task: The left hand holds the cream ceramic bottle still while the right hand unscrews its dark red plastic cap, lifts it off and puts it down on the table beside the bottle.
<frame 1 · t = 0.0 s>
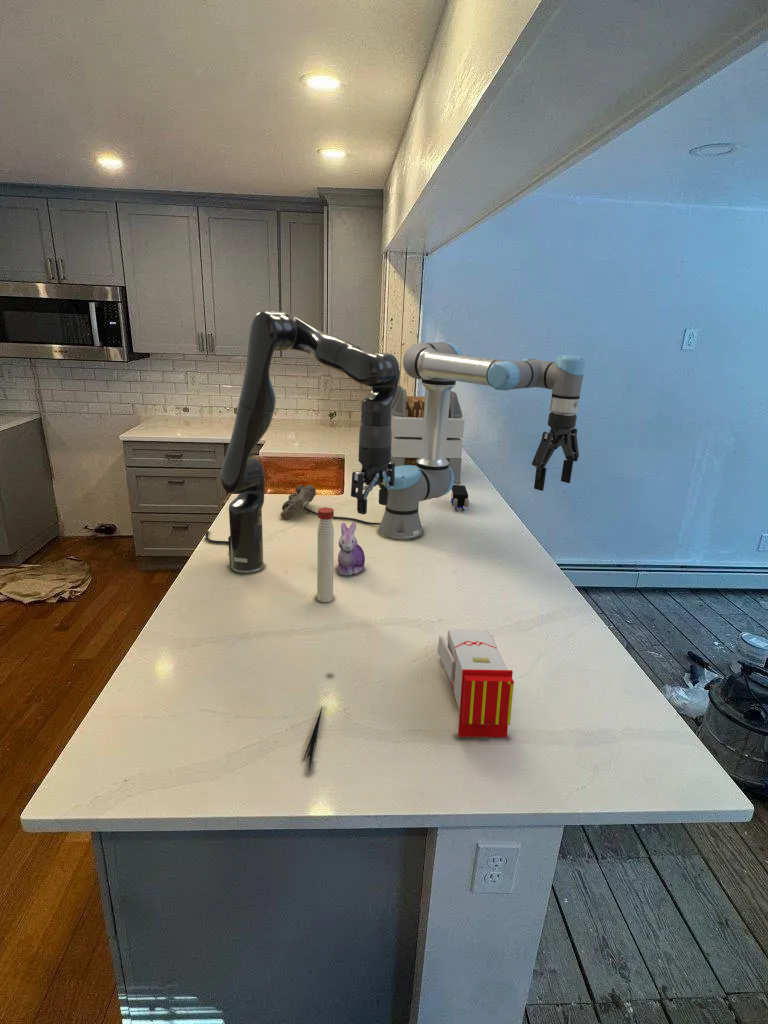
left hand: (372, 508, 136), 29 cm above the counter, tool pointing down, fingers open, 8 cm apart
right hand: (552, 485, 166), 28 cm above the counter, tool pointing down, fingers open, 13 cm apart
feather: (319, 719, 109), on the counter
bottle: (325, 598, 154), on the counter
fossil: (299, 511, 217), on the counter
toy: (469, 691, 119), on the counter
white slatted crate: (419, 473, 275), on the counter
figurine: (350, 570, 171), on the counter
cap: (325, 511, 145), point 25 cm above the counter, screwed on, not yet turned
figurine character: (458, 507, 230), on the counter
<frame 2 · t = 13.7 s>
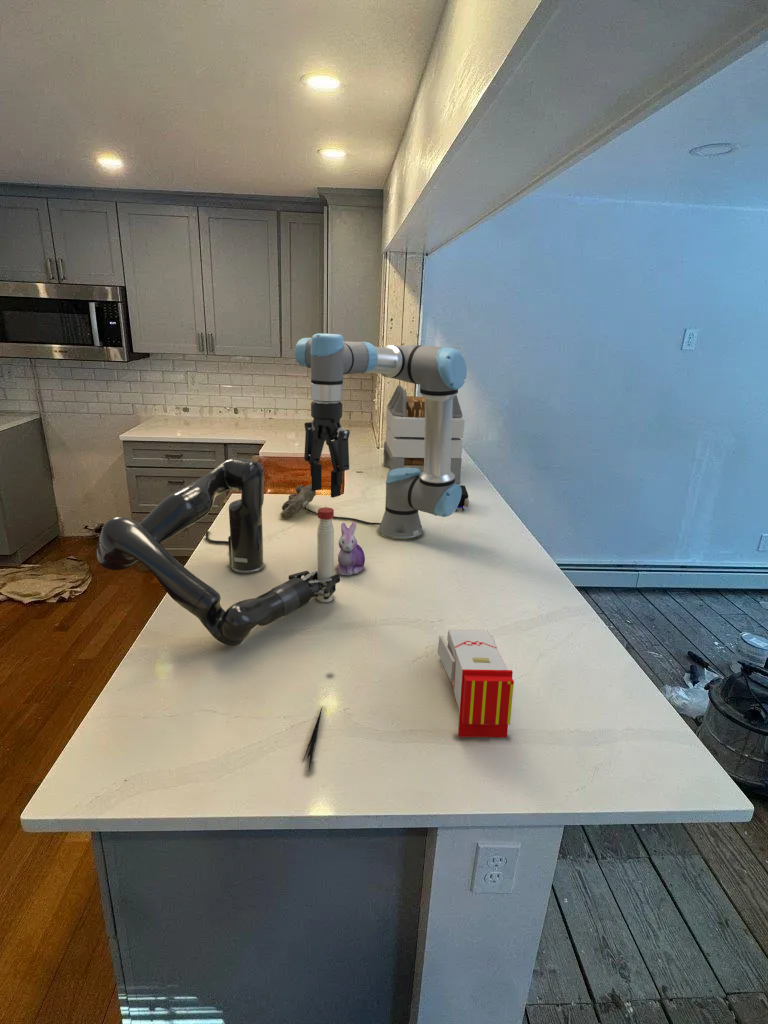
left hand: (331, 574, 154), 6 cm above the counter, tool horizontal, fingers closed on bottle, 4 cm apart
right hand: (326, 492, 143), 30 cm above the counter, tool pointing down, fingers open, 6 cm apart
bottle: (325, 598, 154), on the counter, touching left hand
everything else where it was.
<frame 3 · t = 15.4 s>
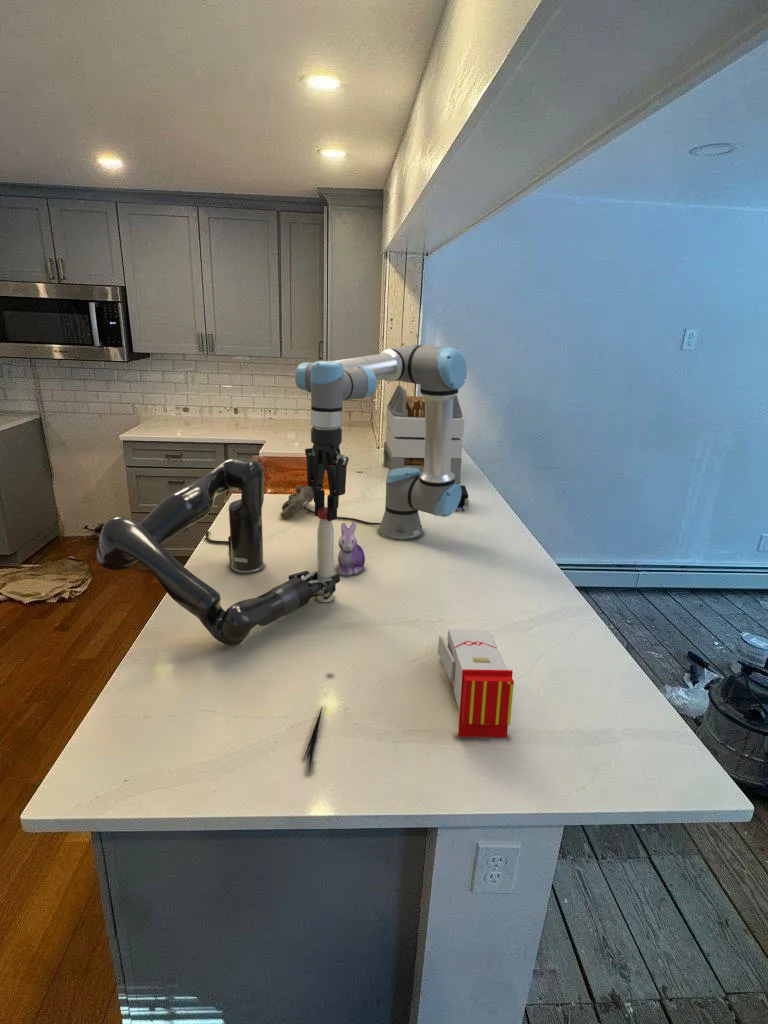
left hand: (331, 574, 154), 6 cm above the counter, tool horizontal, fingers closed on bottle, 4 cm apart
right hand: (325, 517, 146), 24 cm above the counter, tool pointing down, fingers closed on cap, 4 cm apart
bottle: (325, 598, 154), on the counter, touching left hand
cap: (325, 511, 145), point 25 cm above the counter, screwed on, not yet turned, touching right hand
everything else where it was.
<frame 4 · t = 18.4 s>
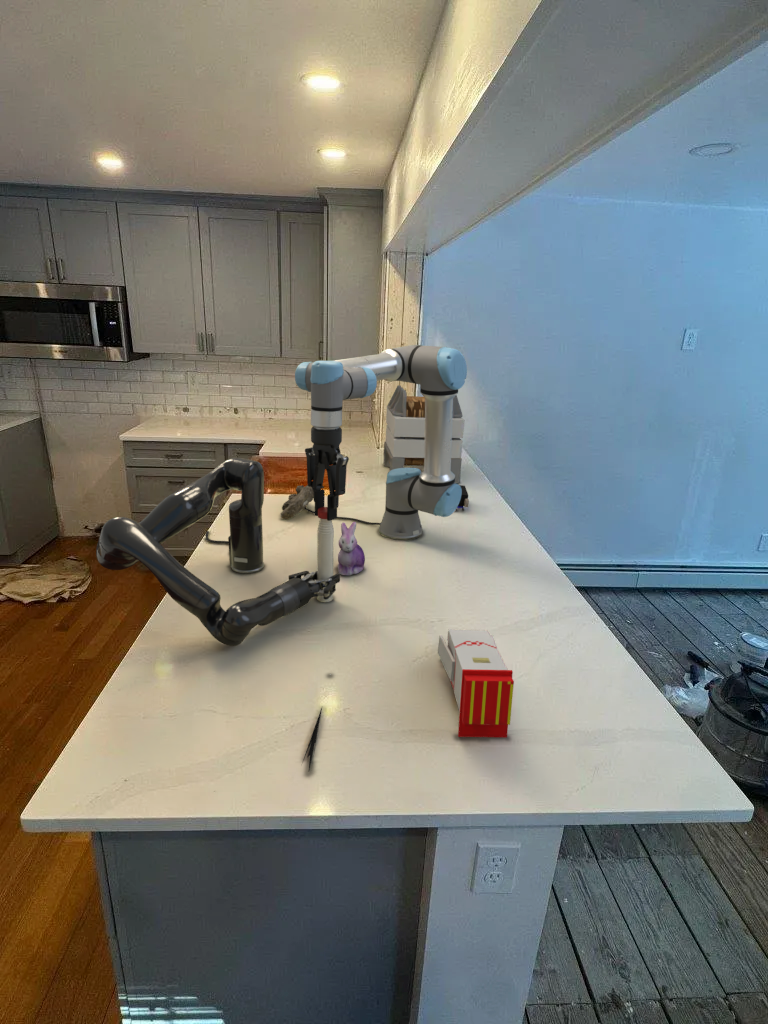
left hand: (331, 574, 154), 6 cm above the counter, tool horizontal, fingers closed on bottle, 4 cm apart
right hand: (325, 516, 146), 24 cm above the counter, tool pointing down, fingers closed on cap, 4 cm apart
bottle: (325, 598, 154), on the counter, touching left hand
cap: (325, 510, 145), point 25 cm above the counter, turned 85° so far, risen 0.1 cm, still on its thread, touching right hand
everything else where it was.
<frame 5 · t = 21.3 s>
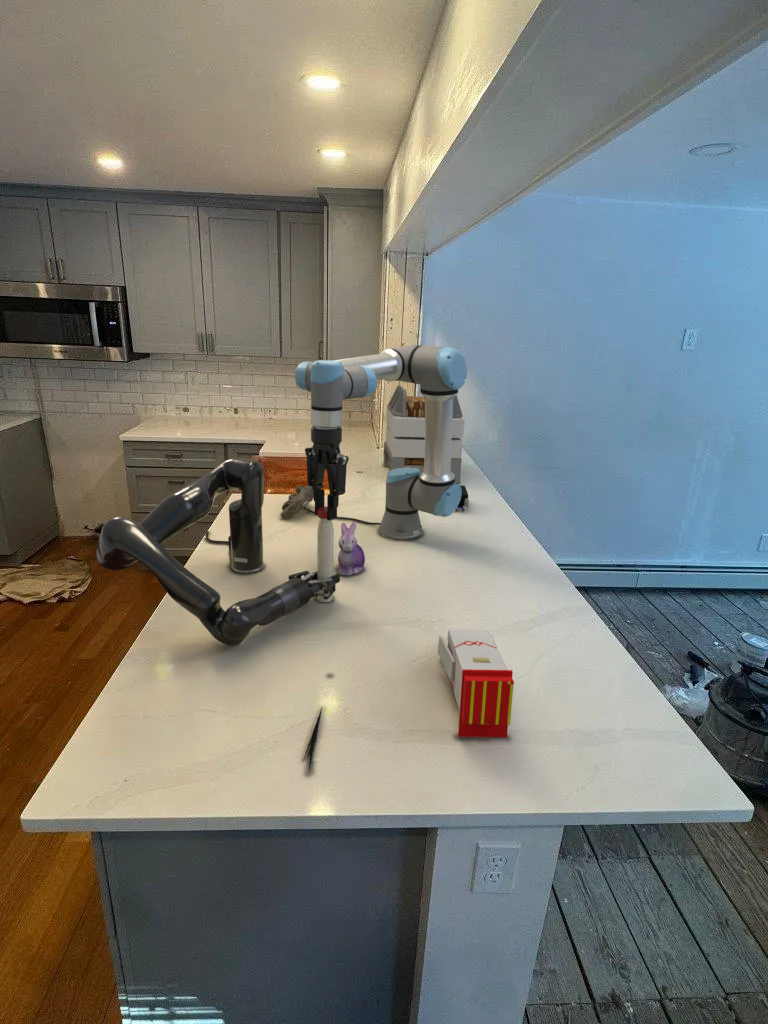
left hand: (331, 574, 154), 6 cm above the counter, tool horizontal, fingers closed on bottle, 4 cm apart
right hand: (325, 516, 146), 24 cm above the counter, tool pointing down, fingers closed on cap, 4 cm apart
bottle: (325, 598, 154), on the counter, touching left hand
cap: (325, 510, 145), point 25 cm above the counter, turned 171° so far, risen 0.2 cm, still on its thread, touching right hand
everything else where it was.
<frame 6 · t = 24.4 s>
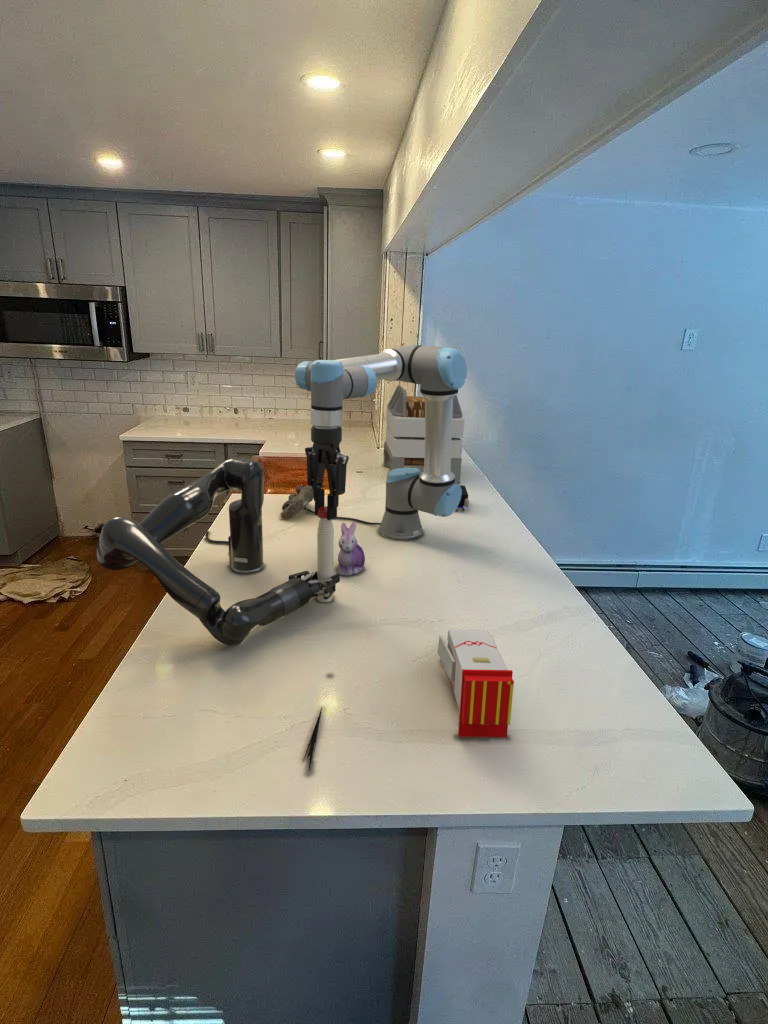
left hand: (331, 574, 154), 6 cm above the counter, tool horizontal, fingers closed on bottle, 4 cm apart
right hand: (325, 516, 146), 24 cm above the counter, tool pointing down, fingers closed on cap, 4 cm apart
bottle: (325, 598, 154), on the counter, touching left hand
cap: (325, 510, 145), point 25 cm above the counter, turned 256° so far, risen 0.3 cm, still on its thread, touching right hand
everything else where it was.
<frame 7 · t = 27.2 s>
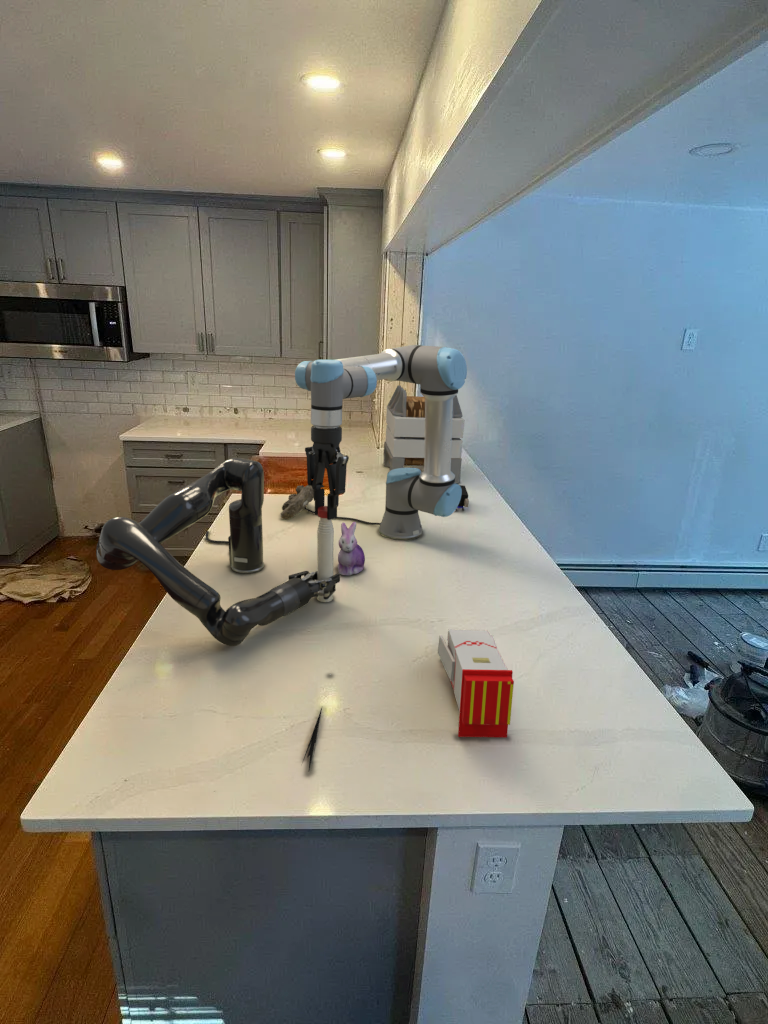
left hand: (331, 574, 154), 6 cm above the counter, tool horizontal, fingers closed on bottle, 4 cm apart
right hand: (325, 515, 146), 24 cm above the counter, tool pointing down, fingers closed on cap, 4 cm apart
bottle: (325, 598, 154), on the counter, touching left hand
cap: (325, 509, 145), point 26 cm above the counter, turned 341° so far, risen 0.3 cm, still on its thread, touching right hand
everything else where it was.
when the right hand's fingers open (1 cm above the counter, at t = 35.1 s): cap drops 1 cm, point 2 cm above the counter.
when the left hand's fingers open (6 cm above the counter, at t = 36.4 s): bottle stays where it is, on the counter.
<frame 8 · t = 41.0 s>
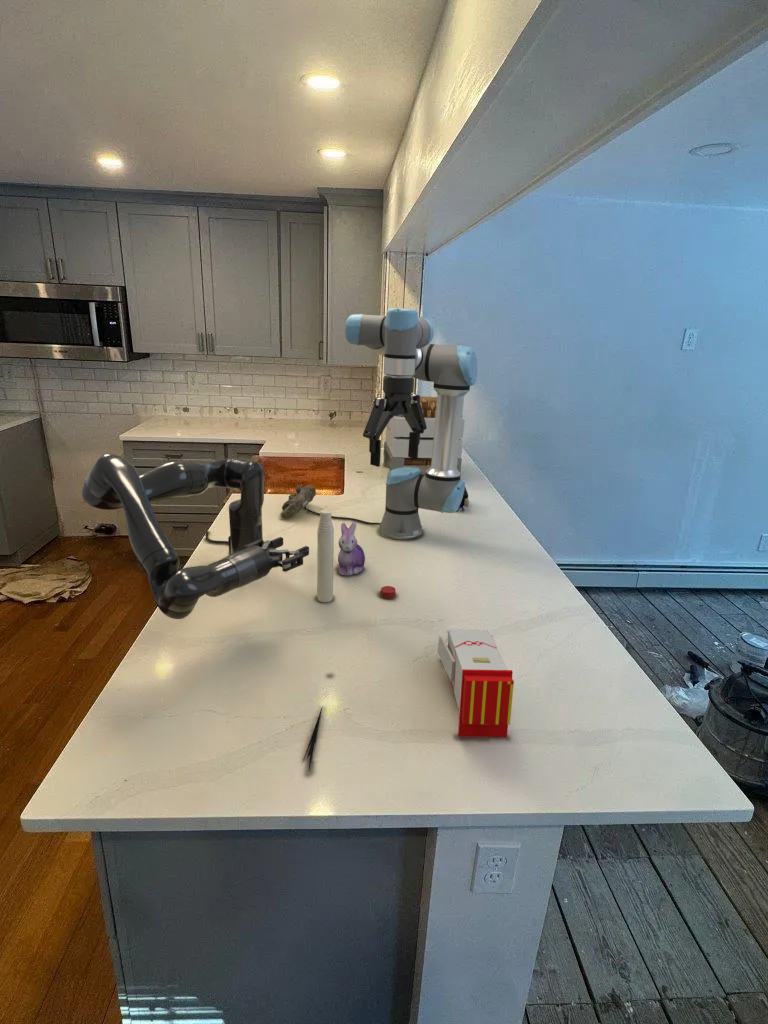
left hand: (295, 545, 138), 19 cm above the counter, tool horizontal, fingers open, 8 cm apart
right hand: (394, 461, 144), 38 cm above the counter, tool pointing down, fingers open, 13 cm apart
bottle: (325, 598, 154), on the counter
cap: (388, 590, 156), point 2 cm above the counter, off its thread
everything else where it was.
at the end: cap came off its thread; cap point 1.6 cm above the counter; the left hand is holding nothing; the right hand is holding nothing; bottle tilted 0°; bottle moved 0.0 cm from its start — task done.
